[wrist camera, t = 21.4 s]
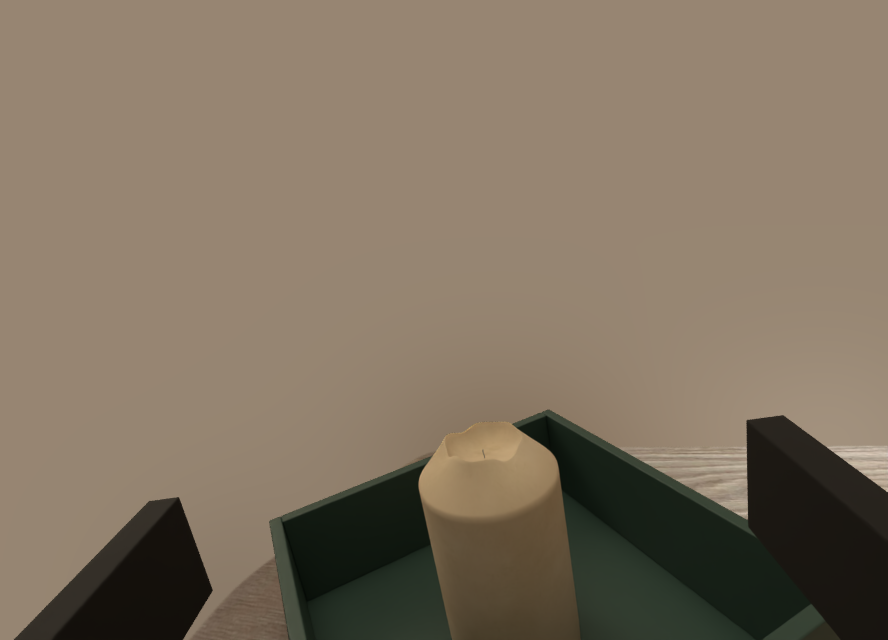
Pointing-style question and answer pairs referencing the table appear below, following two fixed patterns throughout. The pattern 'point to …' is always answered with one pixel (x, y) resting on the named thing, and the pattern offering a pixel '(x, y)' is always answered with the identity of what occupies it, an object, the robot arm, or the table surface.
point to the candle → (500, 536)
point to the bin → (591, 550)
